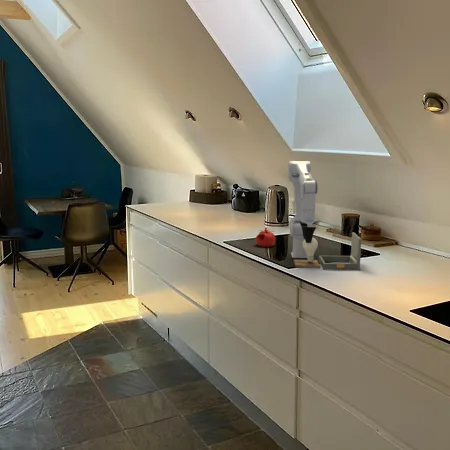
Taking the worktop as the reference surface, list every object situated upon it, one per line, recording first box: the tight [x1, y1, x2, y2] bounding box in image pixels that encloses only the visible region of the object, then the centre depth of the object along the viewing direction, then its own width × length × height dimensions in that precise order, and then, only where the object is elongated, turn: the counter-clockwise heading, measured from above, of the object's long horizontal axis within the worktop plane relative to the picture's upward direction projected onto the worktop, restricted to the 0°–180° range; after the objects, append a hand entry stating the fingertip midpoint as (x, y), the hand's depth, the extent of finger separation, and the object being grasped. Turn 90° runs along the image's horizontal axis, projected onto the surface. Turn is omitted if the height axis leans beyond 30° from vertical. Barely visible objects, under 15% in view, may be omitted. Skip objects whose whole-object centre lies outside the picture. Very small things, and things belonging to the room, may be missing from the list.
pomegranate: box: [255, 227, 276, 248], centre depth 268 cm, size 10×10×9 cm
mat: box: [293, 259, 321, 269], centre depth 232 cm, size 10×10×1 cm
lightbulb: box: [303, 237, 319, 262], centre depth 231 cm, size 6×6×11 cm
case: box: [318, 232, 362, 271], centre depth 229 cm, size 14×15×13 cm
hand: (307, 241), depth 230 cm, fingers open, 7 cm apart
